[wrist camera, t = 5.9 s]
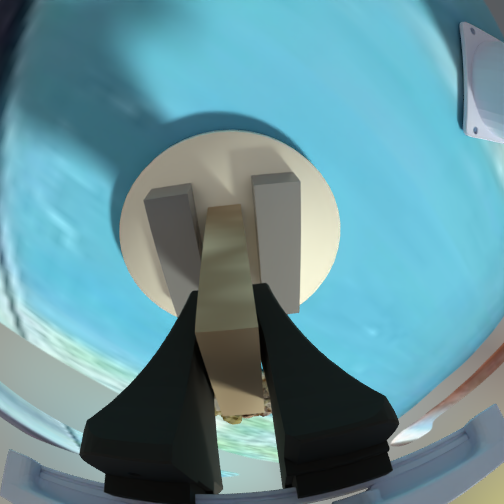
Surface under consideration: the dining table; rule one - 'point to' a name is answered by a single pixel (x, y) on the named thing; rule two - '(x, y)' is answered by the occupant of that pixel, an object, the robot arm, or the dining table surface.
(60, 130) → the dining table surface
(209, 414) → the robot arm
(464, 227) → the dining table surface
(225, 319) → the wooden block
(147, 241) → the clip base
